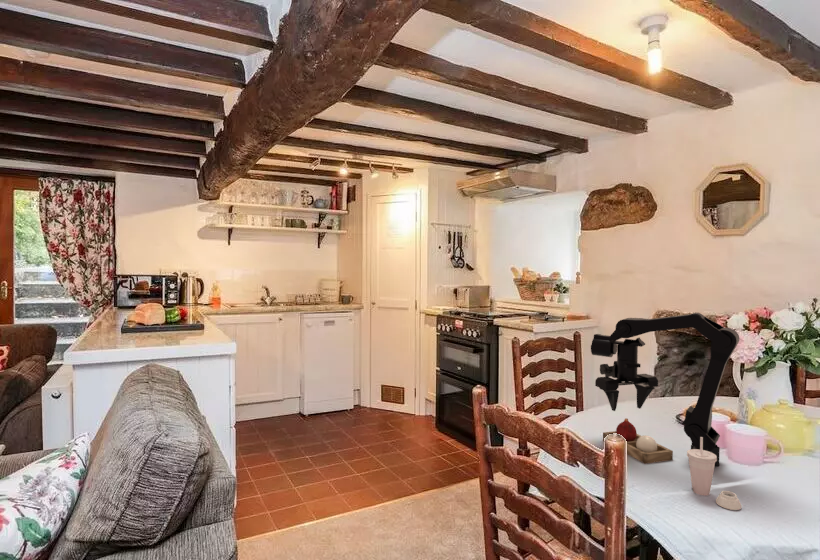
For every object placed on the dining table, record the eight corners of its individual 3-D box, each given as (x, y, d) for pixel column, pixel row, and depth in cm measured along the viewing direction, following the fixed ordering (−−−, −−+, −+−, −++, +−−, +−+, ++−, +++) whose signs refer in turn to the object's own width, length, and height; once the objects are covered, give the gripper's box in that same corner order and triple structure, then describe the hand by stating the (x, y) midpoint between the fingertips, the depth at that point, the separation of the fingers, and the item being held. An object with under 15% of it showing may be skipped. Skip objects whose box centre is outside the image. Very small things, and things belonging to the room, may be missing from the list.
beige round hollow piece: (710, 501, 116) (726, 512, 111) (711, 489, 116) (726, 499, 111) (730, 500, 116) (746, 511, 111) (730, 488, 116) (747, 498, 111)
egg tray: (672, 463, 137) (672, 450, 137) (644, 466, 135) (644, 454, 135) (628, 440, 155) (628, 429, 154) (602, 443, 152) (603, 432, 152)
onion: (639, 448, 146) (640, 421, 145) (620, 447, 146) (620, 421, 146) (631, 440, 152) (631, 415, 151) (613, 440, 152) (613, 415, 151)
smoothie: (683, 492, 120) (684, 436, 119) (689, 483, 125) (690, 430, 124) (713, 501, 115) (714, 443, 115) (718, 491, 120) (719, 436, 120)
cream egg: (661, 457, 139) (662, 438, 138) (645, 459, 137) (645, 440, 137) (647, 450, 144) (647, 431, 144) (631, 452, 142) (631, 433, 142)
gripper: (634, 352, 158) (633, 399, 159) (584, 355, 153) (584, 404, 154) (660, 359, 147) (659, 410, 148) (607, 363, 142) (607, 415, 143)
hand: (626, 409), depth 148 cm, fingers open, 9 cm apart
